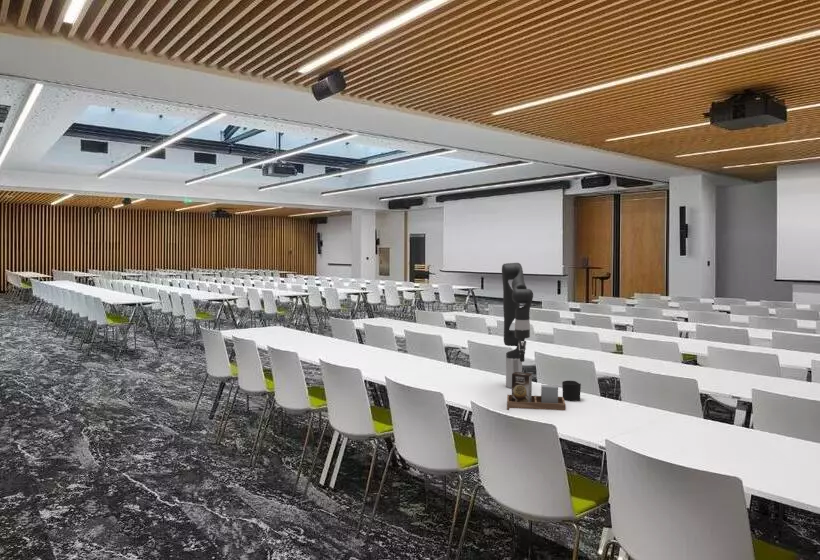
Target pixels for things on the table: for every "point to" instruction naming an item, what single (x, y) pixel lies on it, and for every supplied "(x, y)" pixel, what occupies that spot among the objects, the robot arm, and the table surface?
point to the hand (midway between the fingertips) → (522, 359)
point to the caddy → (536, 404)
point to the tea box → (549, 394)
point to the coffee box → (521, 387)
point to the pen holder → (571, 391)
